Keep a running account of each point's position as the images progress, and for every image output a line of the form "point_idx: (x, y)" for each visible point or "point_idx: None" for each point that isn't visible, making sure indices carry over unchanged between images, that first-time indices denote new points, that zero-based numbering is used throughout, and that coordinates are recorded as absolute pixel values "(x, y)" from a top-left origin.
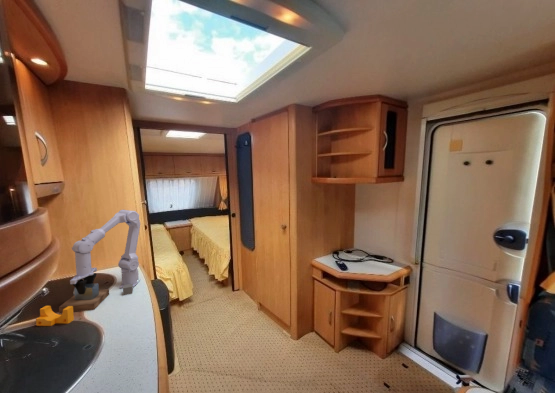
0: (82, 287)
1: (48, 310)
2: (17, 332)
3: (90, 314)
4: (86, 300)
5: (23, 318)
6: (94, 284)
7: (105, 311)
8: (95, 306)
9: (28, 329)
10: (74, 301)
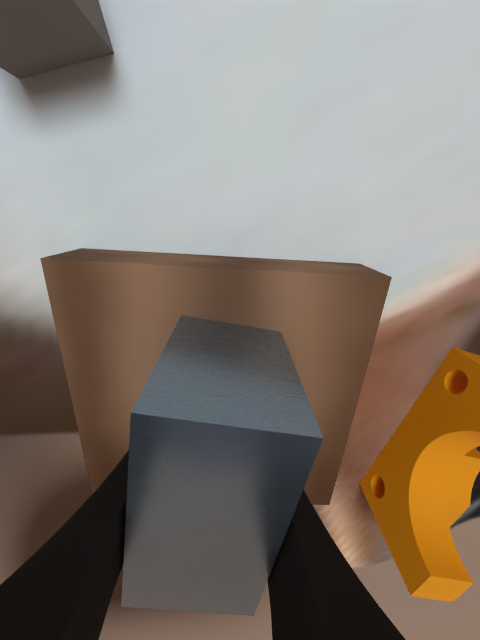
0: (350, 574)
1: (435, 543)
2: None
3: (433, 261)
4: None
5: None
6: (174, 456)
7: (448, 134)
8: (347, 266)
9: None
10: None
